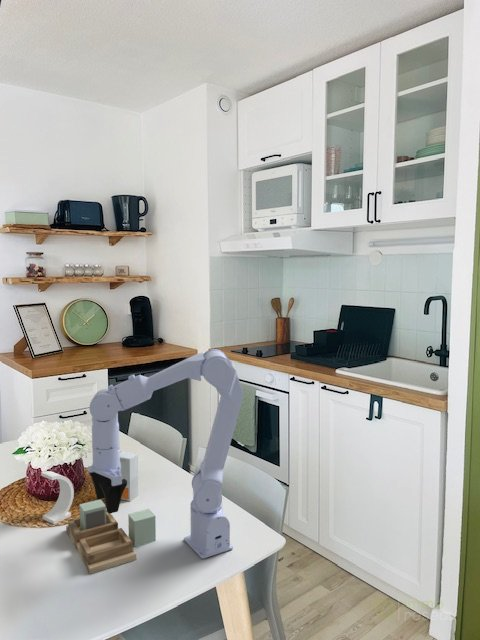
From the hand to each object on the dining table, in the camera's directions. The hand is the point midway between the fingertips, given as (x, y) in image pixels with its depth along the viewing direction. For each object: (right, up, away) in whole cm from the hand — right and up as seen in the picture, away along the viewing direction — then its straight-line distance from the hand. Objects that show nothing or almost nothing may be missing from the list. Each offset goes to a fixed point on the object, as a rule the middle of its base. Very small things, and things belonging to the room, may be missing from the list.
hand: (107, 504), depth 113 cm
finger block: (+7, -10, +5) cm, 13 cm away
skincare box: (-2, -8, +27) cm, 28 cm away
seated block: (-5, -8, +7) cm, 12 cm away
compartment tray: (-3, -10, +3) cm, 11 cm away
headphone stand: (-16, -9, +16) cm, 24 cm away
